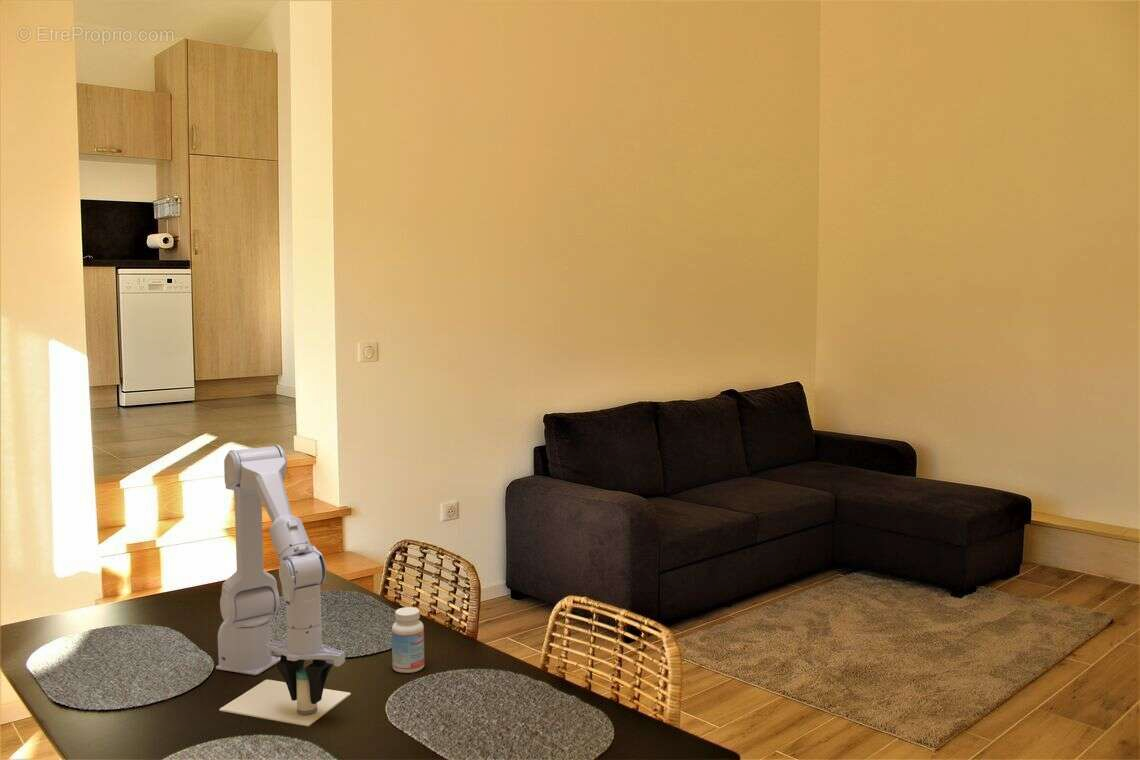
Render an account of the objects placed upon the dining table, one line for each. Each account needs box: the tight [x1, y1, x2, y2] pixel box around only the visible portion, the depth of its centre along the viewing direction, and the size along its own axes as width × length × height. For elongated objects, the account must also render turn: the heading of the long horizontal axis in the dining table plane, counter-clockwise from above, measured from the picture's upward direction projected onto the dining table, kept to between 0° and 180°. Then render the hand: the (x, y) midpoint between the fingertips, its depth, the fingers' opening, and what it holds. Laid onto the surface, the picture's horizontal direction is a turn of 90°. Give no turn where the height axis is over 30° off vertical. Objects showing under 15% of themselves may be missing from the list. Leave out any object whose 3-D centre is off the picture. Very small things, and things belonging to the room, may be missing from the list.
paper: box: [218, 679, 352, 727], centre depth 167 cm, size 18×13×1 cm
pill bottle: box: [391, 606, 425, 674], centre depth 181 cm, size 6×6×11 cm
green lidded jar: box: [296, 666, 317, 715], centre depth 162 cm, size 4×4×7 cm
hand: (306, 699), depth 162 cm, fingers closed on green lidded jar, 3 cm apart
